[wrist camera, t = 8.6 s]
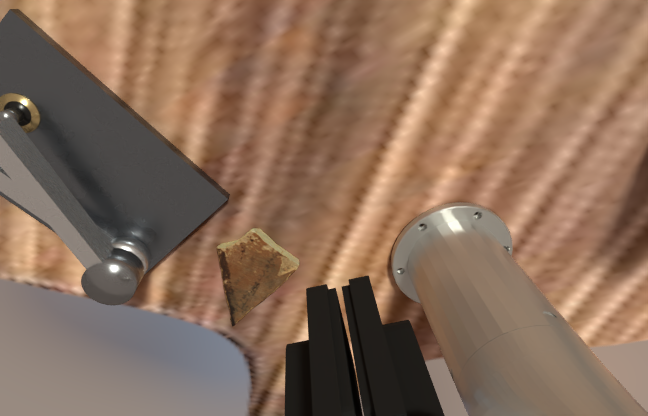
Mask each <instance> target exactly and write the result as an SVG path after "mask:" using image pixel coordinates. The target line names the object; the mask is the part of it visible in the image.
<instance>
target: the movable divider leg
mask: <svg viewBox="0 0 648 416" xmlns="http://www.w3.org/2000/svg"><path fill="white" fill-rule="evenodd" d="M23 119H24V114H23V112H22V111H21V110H20V109H19V108H16V107H11V108H8V109H6V110H3V111H1V112H0V166H1V168H2V169H3V170H4V171H5V172H6V174H7V175H8V176H9V177H10V178H11V180H12V181H13V182H14V183H15V184H16V186H17V187H18V188H19V189H20V190H21V192H22V193H23V194H24V195H25V196H26V198H27V199H28V200H29V201H30V202H31V203H32V205H33V206H34V207H35V208H36V209H37V211H38V212H39V213H40V214H41V215H42V217H43V218H44V219H45V220H46V221H47V223H48V224H49V225H50V226H51V227H52V229H53V230H54V231H55V232H56V233H57V235H58V236H59V237H60V238H61V239H62V241H63V242H64V243H65V244H66V245H67V247H68V248H69V249H70V250H71V251H72V253H73V254H74V255H75V256H76V257H77V259H78V260H79V261H80V262H81V263H82V265H83V266H84V267H85V268H86V269H87V270H86V271H85V272H84V274H83V276H82V279H81V284H82V287H83V290H84V291H85V293H86V294H87V295H88V296H89V297H90V298H92V299H93V300H95V301H97V302H99V303H102V304H106V305H120V304H123V303H125V302H127V301H129V300H130V299H131V298H132V296H133V295H134V293H135V291H136V289H137V287H138V285H139V283H140V281H141V280H142V278H143V275H144V266H143V263H142V261H141V260H140V259H139V257H137V256H136V255H135V254H134V253H132V252H130V251H128V250H125V249H122V248H114V247H113V246H112V245H111V243H110V242H109V241H108V240H107V238H106V237H105V236H104V234H103V233H102V232H101V230H100V229H99V228H98V227H97V225H96V224H95V223H94V221H93V220H92V219H91V217H90V216H89V215H88V214H87V212H86V211H85V210H84V208H83V207H82V206H81V205H80V203H79V202H78V201H77V199H76V198H75V197H74V195H73V194H72V193H71V192H70V190H69V189H68V188H67V186H66V185H65V184H64V182H63V181H62V180H61V179H60V177H59V176H58V175H57V173H56V172H55V171H54V169H53V168H52V167H51V166H50V164H49V163H48V162H47V160H46V159H45V158H44V156H43V155H42V154H41V153H40V151H39V150H38V149H37V147H36V146H35V145H34V144H33V142H32V141H31V140H30V138H29V137H28V136H27V134H26V133H25V132H24V131H23V129H22V128H21V127H20V125H19V124H18V123H19V122H21V121H23Z"/></svg>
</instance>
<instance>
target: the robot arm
mask: <svg viewBox="0 0 648 416" xmlns="http://www.w3.org/2000/svg"><path fill="white" fill-rule="evenodd" d="M512 250H513V249H512V238H511V235H510V231H509V230H508V228H507V226H506V225H505V223H504V222H503V221H502V220H501V219H500V218H499V217H498V216H497V215H496V214H495V213H493V212H492V211H491V210H489V209H487V208H485V207H483V206H481V205H477V204H473V203H463V202H457V203H449V204H444V205H441V206H437V207H434V208H432V209H430V210H428V211H426V212H424V213H422V214H421V215H419V216H418V217H416V218H415V219H413V220H412V221H411V222H410V223H409V224H408V225H407V226H406V227H405V228H404V229H403V231H402V232H401V234H400V235H399V236H398V238H397V240H396V242H395V244H394V247H393V251H392V255H391V268H392V273H393V276H394V279H395V281H396V284H397V285H398V287H399V288H400V290H401V291H402V292H403V293H404V294H405V295H406V296H407V297H408V298H410V299H412V300H413V301H415V302H417V303H420V304H421V305H422V307H423V310H424V312H425V314H426V317H427V319H428V321H429V324H430V326H431V329H432V331H433V333H434V336H435V338H436V340H437V343H438V345H439V348H440V350H441V352H442V355H443V357H444V359H445V361H446V364H447V366H448V369H449V371H450V374H451V376H452V378H453V381H454V383H455V385H456V388H457V390H458V392H459V395H460V397H461V400H462V402H463V404H464V407H465V409H466V411H467V413H468V415H469V416H648V412H647V411H646V410H645V409H644V408H643V407H642V406H641V405H640V404H639V403H638V402H637V401H636V400H635V399H634V398H633V397H632V396H631V394H630V393H629V392H628V391H627V390H626V389H625V388H624V387H623V386H622V385H621V383H620V382H619V381H618V380H617V379H616V378H615V377H614V376H613V375H612V374H611V372H610V371H609V370H608V369H607V368H606V367H605V366H604V365H603V363H602V362H601V361H600V360H599V359H598V358H597V356H596V355H595V354H594V353H593V352H592V351H591V349H590V348H589V347H588V346H587V345H586V344H585V342H584V341H583V340H582V339H581V338H580V336H579V335H578V334H577V333H576V332H575V331H574V329H573V328H572V327H571V326H570V325H569V323H568V322H567V321H566V320H565V319H564V318H563V316H562V315H561V314H560V313H559V312H558V311H557V309H556V308H555V307H554V306H553V305H552V303H551V302H550V301H549V300H548V299H547V298H546V296H545V295H544V294H543V293H542V292H541V290H540V289H539V288H538V287H537V286H536V285H535V283H534V282H533V281H532V280H531V279H530V278H529V276H528V275H527V274H526V273H525V272H524V270H523V269H522V268H521V267H520V266H519V265H518V263H517V262H516V261H515V260H514V259H513V257H512V256H511V255H512ZM349 284H350V285H348V286H343V287H342V291H343V297H344V303H345V308H346V314H347V320H348V326H349V332H350V337H351V343H352V349H353V355H354V360H355V366H356V372H357V378H358V383H359V389H360V395H361V401H362V406H363V412H364V416H444V413H443V410H442V408H441V405H440V402H439V399H438V397H437V394H436V391H435V389H434V386H433V383H432V380H431V378H430V375H429V372H428V370H427V367H426V364H425V361H424V358H423V356H422V353H421V350H420V347H419V345H418V342H417V339H416V336H415V334H414V331H413V328H412V326H411V323H410V321H409V320H405V321H400V322H395V323H390V324H385V325H382V322H381V319H380V315H379V312H378V308H377V304H376V301H375V297H374V294H373V290H372V286H371V283H370V279H369V276H364V277H359V278H354V279H349ZM306 294H307V313H308V333H309V340H307V341H302V342H297V343H292V344H287V346H286V372H285V416H363V415H362V409H361V403H360V397H359V391H358V386H357V380H356V374H355V368H354V363H353V359H352V354H351V350H350V346H349V342H348V338H347V333H346V329H345V325H344V321H343V317H342V313H341V308H340V304H339V300H338V296H337V292H336V288H333V289H328V287H327V284H325V285H320V286H316V287H311V288H307V289H306Z"/></svg>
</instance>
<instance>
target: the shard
mask: <svg viewBox="0 0 648 416" xmlns="http://www.w3.org/2000/svg"><path fill="white" fill-rule="evenodd" d="M217 252H218V257H219V263H220V267H221V270H222V278H223V284H224V290H225V295H226V299H227V303H228V306H229V309H230V314H231V318H230V320H231V323H232V326H234V325H235V324H236V323H237V322H238V321H239V320H241V319H242V318H243V317H244V316H245V315H246V314H247V313H248V312H249V311H250V310H251V309H253V308H254V307H255V306H256V305H258V304H259V303H261V302H262V301H263V300H265V299H266V298H267V297H268V296H269V295H271V294H272V293H273V292H274V291H275V290H276V289H277V288H278V287H279V286H281V285H282V284H283V283H284V282H285V281H286V280H287V279H288V277H289V276H290V275H291V274H292V273H293V272H295V271H296V270H297V268H298V266H299V264H300V263H299V260H298V259H297V258H296V257H294V256H293V255H291V254H290V253H289V252H287V251H286V250H284V249H283V248H282V247H280V246H279V245H277V244H276V243H275V242H274V241H273V240H272V239H271V238H270V237H269V236H267V235H266V234H265V233H264V232H263V231H262V230H261V229H258V228H253V229H251V230H250V231H249V232H247V233H246V234H245V235H244V236H243V237H242V238H241V239H239V240H237V241H232V242H227V243H223V244H220V245H219V246H217Z"/></svg>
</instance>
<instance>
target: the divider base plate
mask: <svg viewBox="0 0 648 416" xmlns="http://www.w3.org/2000/svg"><path fill="white" fill-rule="evenodd" d="M11 107H16V108H19V109H20V110H21V111H22V112H23V114H24V119H23V121H21V122H19V123H18V124H19V125H20V127H21V128H22V129H23V131H24V132H25V133H26V134H27V136H28V137H29V138H30V140H31V141H32V142H33V144H34V145H35V146H36V147H37V149H38V150H39V151H40V153H41V154H42V155H43V156H44V158H45V159H46V160H47V162H48V163H49V164H50V166H51V167H52V168H53V169H54V171H55V172H56V173H57V175H58V176H59V177H60V179H61V180H62V181H63V182H64V184H65V185H66V186H67V188H68V189H69V190H70V192H71V193H72V194H73V195H74V197H75V198H76V199H77V201H78V202H79V203H80V205H81V206H82V207H83V208H84V210H85V211H86V212H87V214H88V215H89V216H90V217H91V219H92V220H93V221H94V223H95V224H96V225H97V227H98V228H99V229H100V230H101V232H102V233H103V234H104V236H105V237H106V238H107V240H108V241H109V242H110V243H111V245H112V246H113V247H114V248H122V249H125V250H128V251H130V252H132V253H134V254H135V255H136V256H137V257H139V259H140V260H141V261H142V263H143V266H144V275H145V274H146V273H147V272H148V271H149V270H150V269H151V268H152V267H153V266H155V265H156V264H157V263H158V262H159V261H160V260H161V259H162V258H163V257H165V256H166V255H167V254H168V253H169V252H170V251H171V250H172V249H173V248H175V247H176V246H177V245H178V244H179V243H180V242H181V241H182V240H183V239H185V238H186V237H187V236H188V235H189V234H190V233H191V232H192V231H193V230H195V229H196V228H197V227H198V226H199V225H200V224H201V223H202V222H203V221H205V220H206V219H207V218H208V217H209V216H210V215H211V214H212V213H213V212H215V211H216V210H217V209H218V208H219V207H220V206H221V205H222V204H223V203H225V202H226V201H227V200H228V198H229V195H230V194H228V193H227V192H226V191H225V190H224V189H223V188H222V187H221V186H219V185H218V184H217V183H216V182H215V181H214V180H213V179H211V178H210V177H209V176H208V175H207V174H206V173H205V172H203V171H202V170H201V169H200V168H199V167H198V166H197V165H195V164H194V163H193V162H192V161H191V160H190V159H189V158H187V157H186V156H185V155H184V154H183V153H182V152H181V151H179V150H178V149H177V148H176V147H175V146H174V145H173V144H171V143H170V142H169V141H168V140H167V139H166V138H165V137H164V136H162V135H161V134H160V133H159V132H158V131H157V130H156V129H154V128H153V127H152V126H151V125H150V124H149V123H148V122H146V121H145V120H144V119H143V118H142V117H141V116H140V115H138V114H137V113H136V112H135V111H134V110H133V109H132V108H130V107H129V106H128V105H127V104H126V103H125V102H124V101H122V100H121V99H120V98H119V97H118V96H117V95H116V94H114V93H113V92H112V91H111V90H110V89H109V88H108V87H107V86H105V85H104V84H103V83H102V82H101V81H100V80H99V79H97V78H96V77H95V76H94V75H93V74H92V73H91V72H89V71H88V70H87V69H86V68H85V67H84V66H83V65H81V64H80V63H79V62H78V61H77V60H76V59H75V58H73V57H72V56H71V55H70V54H69V53H68V52H67V51H65V50H64V49H63V48H62V47H61V46H60V45H59V44H57V43H56V42H55V41H54V40H53V39H52V38H51V37H49V36H48V35H47V34H46V33H45V32H44V31H43V30H42V29H40V28H39V27H38V26H37V25H36V24H35V23H34V22H32V21H31V20H30V19H29V18H28V17H27V16H26V15H24V14H23V13H22V12H21V11H20V10H19V9H10V10H9V11H8V13H7V14H6V15H5V17H4V18H3V19H2V21H1V22H0V112H1V111H3V110H6V109H8V108H11ZM0 195H1V196H3V197H4V198H5V199H7V200H8V201H10V202H11V203H13V204H14V205H16V206H17V207H19V208H20V209H22V210H23V211H25V212H26V213H27V214H29V215H30V216H32V217H33V218H35V219H36V220H38V221H39V222H41V223H42V224H44V225H45V226H47V227H48V228H50V229H51V230H52V231H54V230H53V229H52V227H51V226H50V225H49V224H48V223H47V221H46V220H45V219H44V218H43V217H42V215H41V214H40V213H39V212H38V211H37V209H36V208H35V207H34V206H33V205H32V203H31V202H30V201H29V200H28V199H27V198H26V196H25V195H24V194H23V193H22V192H21V190H20V189H19V188H18V187H17V186H16V184H15V183H14V182H13V181H12V180H11V178H10V177H9V176H8V175H7V174H6V172H5V171H4V170H3V169H2V168H1V166H0ZM54 232H55V231H54ZM55 233H56V232H55ZM144 275H143V276H144Z"/></svg>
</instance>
